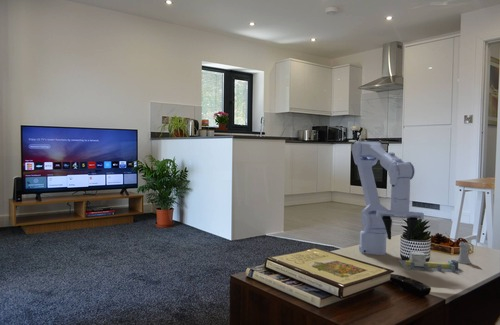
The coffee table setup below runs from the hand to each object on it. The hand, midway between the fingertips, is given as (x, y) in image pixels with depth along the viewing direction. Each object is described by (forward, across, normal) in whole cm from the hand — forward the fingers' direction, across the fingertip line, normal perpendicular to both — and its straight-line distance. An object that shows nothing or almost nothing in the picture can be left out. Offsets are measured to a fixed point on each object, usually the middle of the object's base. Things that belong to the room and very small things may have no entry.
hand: (398, 239), depth 123 cm
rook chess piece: (+10, +23, +8) cm, 26 cm away
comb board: (+9, +10, 0) cm, 13 cm away
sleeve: (+8, +6, 0) cm, 10 cm away
